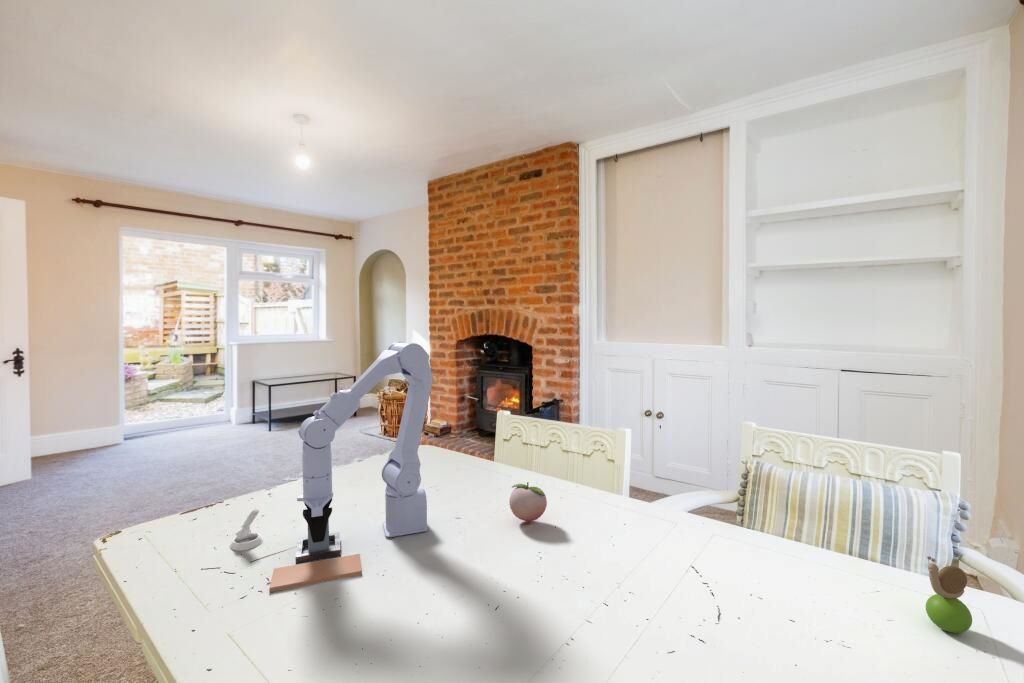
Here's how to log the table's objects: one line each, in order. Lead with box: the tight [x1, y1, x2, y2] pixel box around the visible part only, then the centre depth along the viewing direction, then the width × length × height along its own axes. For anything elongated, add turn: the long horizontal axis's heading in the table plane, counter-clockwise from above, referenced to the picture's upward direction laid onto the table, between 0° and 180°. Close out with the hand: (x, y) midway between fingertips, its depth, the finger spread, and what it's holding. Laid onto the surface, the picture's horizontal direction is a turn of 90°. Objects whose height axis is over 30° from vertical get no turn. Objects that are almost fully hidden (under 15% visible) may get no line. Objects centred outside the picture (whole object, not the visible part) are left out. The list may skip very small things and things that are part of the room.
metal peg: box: [307, 518, 330, 553], centre depth 99 cm, size 4×4×8 cm
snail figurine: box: [925, 555, 973, 634], centre depth 74 cm, size 5×6×12 cm
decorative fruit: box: [509, 481, 548, 523], centre depth 113 cm, size 9×8×10 cm
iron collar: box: [295, 532, 341, 565], centre depth 99 cm, size 8×8×2 cm
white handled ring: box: [229, 507, 264, 551], centre depth 102 cm, size 6×10×6 cm
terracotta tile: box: [269, 553, 363, 593], centre depth 91 cm, size 16×7×1 cm, turn 111°
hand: (318, 536), depth 99 cm, fingers closed on metal peg, 4 cm apart
